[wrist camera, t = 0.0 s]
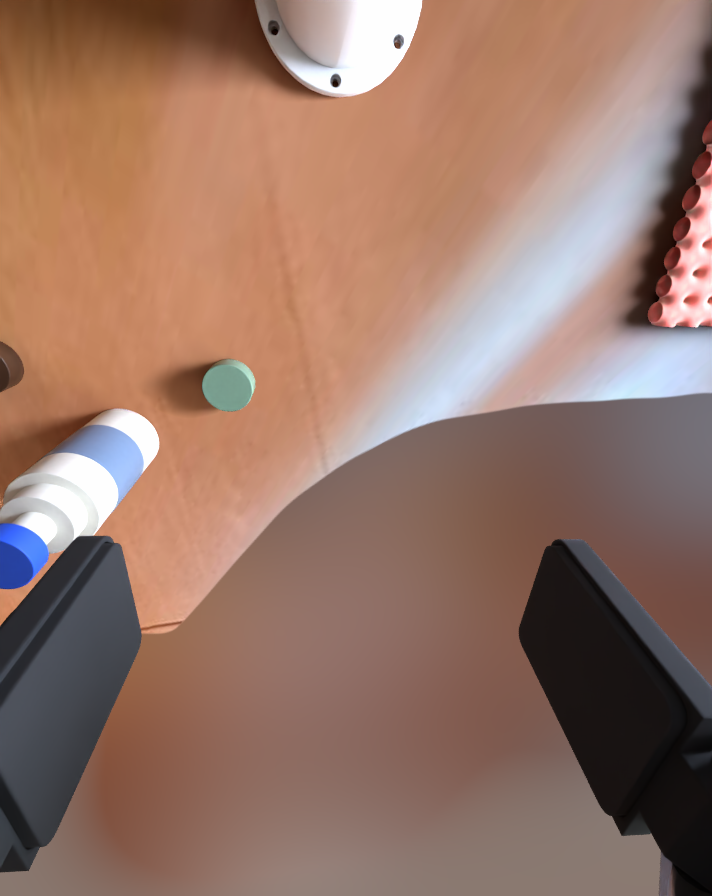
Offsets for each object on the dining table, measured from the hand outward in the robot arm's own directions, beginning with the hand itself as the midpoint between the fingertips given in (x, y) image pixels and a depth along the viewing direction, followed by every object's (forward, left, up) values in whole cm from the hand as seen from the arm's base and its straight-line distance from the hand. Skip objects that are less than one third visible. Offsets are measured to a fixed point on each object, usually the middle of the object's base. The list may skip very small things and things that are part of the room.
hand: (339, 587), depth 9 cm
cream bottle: (+14, -22, -37) cm, 45 cm away
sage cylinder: (+7, -10, -37) cm, 39 cm away
